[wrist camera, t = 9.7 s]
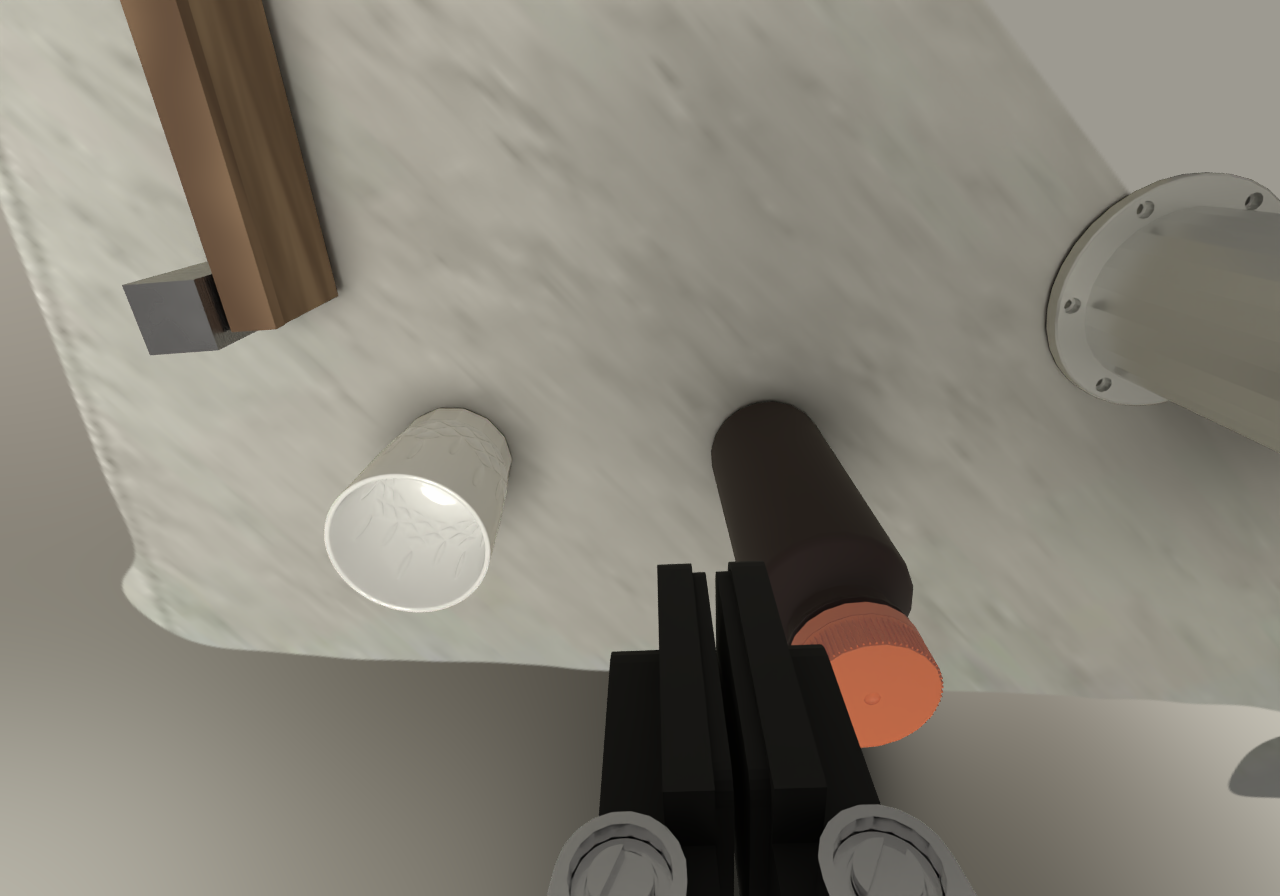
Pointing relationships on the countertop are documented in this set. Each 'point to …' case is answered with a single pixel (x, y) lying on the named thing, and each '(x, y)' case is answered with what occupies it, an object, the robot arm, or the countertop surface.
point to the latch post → (181, 312)
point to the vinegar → (826, 566)
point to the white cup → (423, 514)
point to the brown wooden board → (235, 154)
